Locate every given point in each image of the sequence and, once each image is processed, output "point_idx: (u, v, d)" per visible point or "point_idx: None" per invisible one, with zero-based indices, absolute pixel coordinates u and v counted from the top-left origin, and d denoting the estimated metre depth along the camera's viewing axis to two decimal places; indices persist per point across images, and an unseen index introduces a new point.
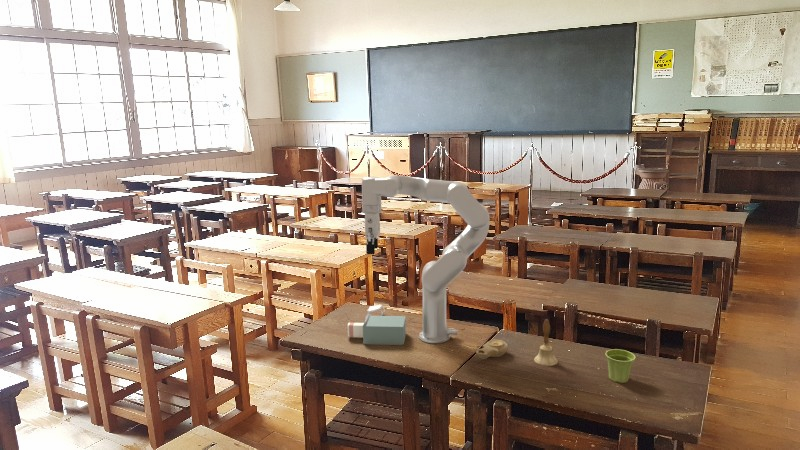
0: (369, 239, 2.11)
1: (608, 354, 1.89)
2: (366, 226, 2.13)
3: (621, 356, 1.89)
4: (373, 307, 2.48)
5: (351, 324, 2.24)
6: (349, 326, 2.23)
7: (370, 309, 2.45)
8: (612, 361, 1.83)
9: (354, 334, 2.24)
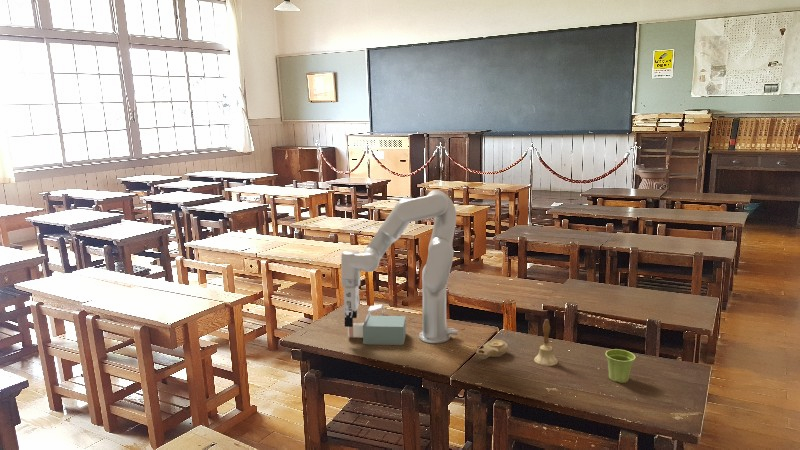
0: (347, 313, 2.15)
1: (608, 354, 1.89)
2: (345, 300, 2.18)
3: (621, 356, 1.89)
4: (374, 306, 2.48)
5: None
6: None
7: (371, 309, 2.45)
8: (612, 361, 1.83)
9: (354, 334, 2.24)
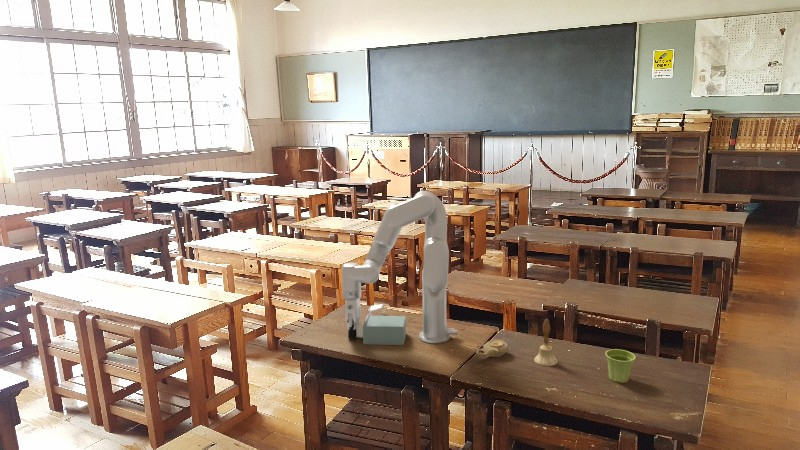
0: (350, 327, 2.19)
1: (608, 354, 1.89)
2: (346, 312, 2.19)
3: (621, 356, 1.89)
4: (375, 306, 2.49)
5: None
6: None
7: (372, 308, 2.46)
8: (612, 361, 1.83)
9: None
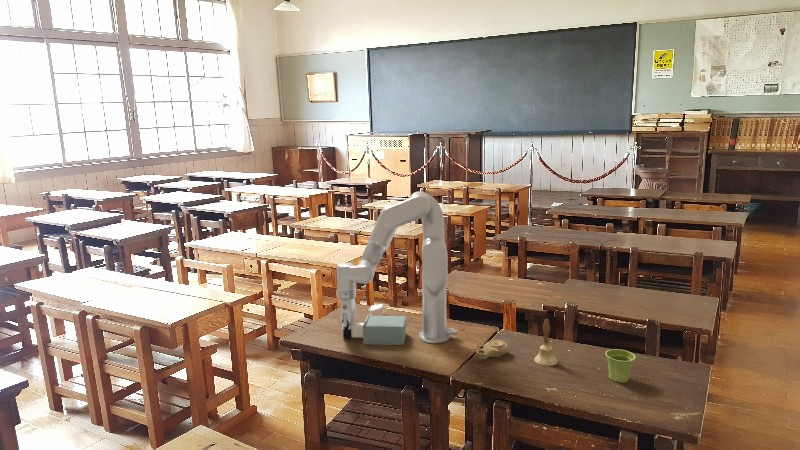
0: (345, 327, 2.20)
1: (608, 354, 1.89)
2: (341, 312, 2.19)
3: (621, 356, 1.89)
4: (375, 306, 2.49)
5: None
6: None
7: (372, 308, 2.46)
8: (612, 361, 1.83)
9: None
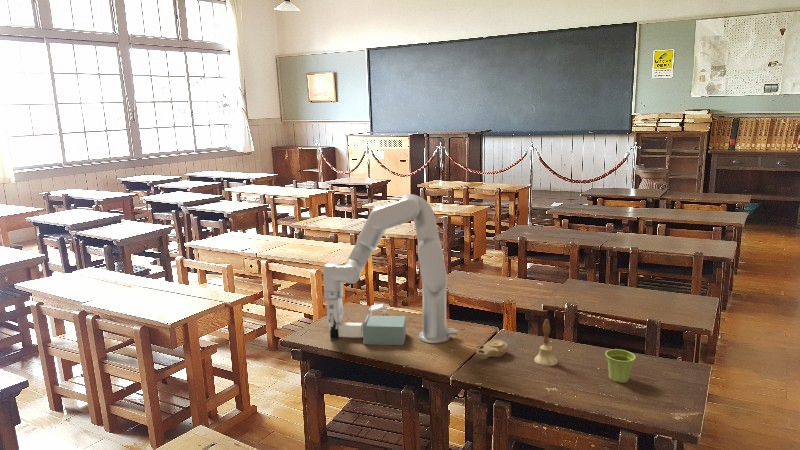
0: (332, 327, 2.20)
1: (608, 354, 1.89)
2: (328, 312, 2.19)
3: (621, 356, 1.89)
4: (375, 306, 2.49)
5: None
6: None
7: (372, 308, 2.46)
8: (612, 361, 1.83)
9: None
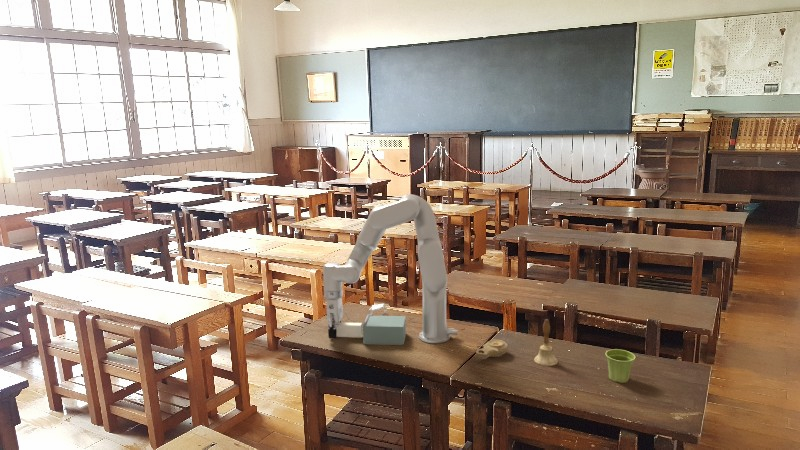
0: (330, 325, 2.17)
1: (608, 354, 1.89)
2: (328, 312, 2.19)
3: (621, 356, 1.89)
4: (376, 305, 2.50)
5: (333, 324, 2.25)
6: None
7: (373, 308, 2.46)
8: (612, 361, 1.83)
9: None
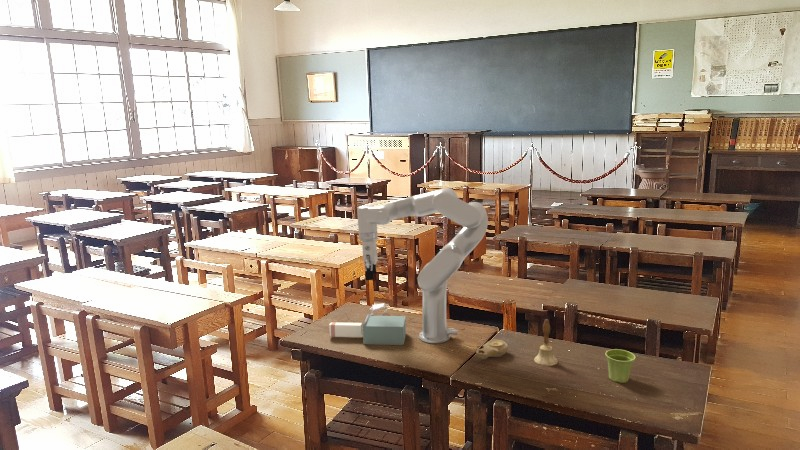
0: (368, 266, 2.18)
1: (608, 354, 1.89)
2: (364, 253, 2.20)
3: (621, 356, 1.89)
4: (376, 305, 2.50)
5: (333, 324, 2.25)
6: (331, 326, 2.24)
7: (374, 308, 2.47)
8: (612, 361, 1.83)
9: (336, 334, 2.24)
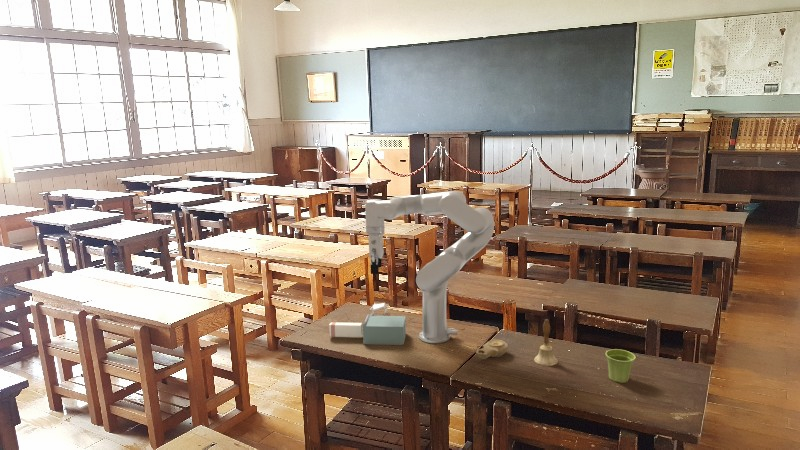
0: (373, 260, 2.19)
1: (608, 354, 1.89)
2: (370, 247, 2.21)
3: (621, 356, 1.89)
4: (377, 305, 2.50)
5: (333, 324, 2.25)
6: (331, 326, 2.24)
7: (374, 307, 2.47)
8: (612, 361, 1.83)
9: (336, 334, 2.24)
